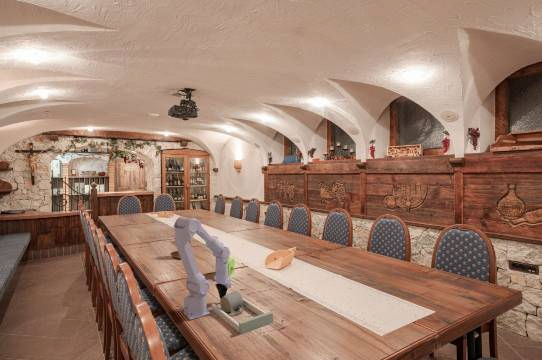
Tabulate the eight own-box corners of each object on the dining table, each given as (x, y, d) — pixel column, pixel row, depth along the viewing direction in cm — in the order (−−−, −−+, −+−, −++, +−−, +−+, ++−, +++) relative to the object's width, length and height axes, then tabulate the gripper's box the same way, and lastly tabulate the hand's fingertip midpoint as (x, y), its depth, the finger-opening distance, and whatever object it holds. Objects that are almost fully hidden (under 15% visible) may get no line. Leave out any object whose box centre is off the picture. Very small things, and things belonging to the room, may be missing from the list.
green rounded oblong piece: (228, 281, 181) (228, 265, 180) (212, 279, 183) (212, 264, 182) (238, 271, 199) (238, 256, 198) (223, 269, 201) (223, 255, 200)
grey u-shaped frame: (241, 334, 121) (240, 323, 121) (211, 309, 143) (211, 301, 143) (273, 322, 130) (272, 312, 130) (240, 301, 152) (240, 293, 152)
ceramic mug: (219, 310, 142) (218, 293, 142) (233, 304, 148) (232, 288, 148) (233, 318, 135) (233, 300, 134) (247, 311, 141) (247, 294, 140)
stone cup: (194, 257, 232) (193, 237, 232) (179, 260, 224) (178, 240, 224) (184, 253, 243) (183, 234, 243) (169, 256, 235) (169, 237, 235)
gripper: (236, 272, 147) (237, 301, 147) (222, 265, 158) (223, 292, 159) (223, 276, 142) (223, 305, 143) (209, 268, 154) (210, 295, 155)
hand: (222, 298), depth 150 cm, fingers closed
